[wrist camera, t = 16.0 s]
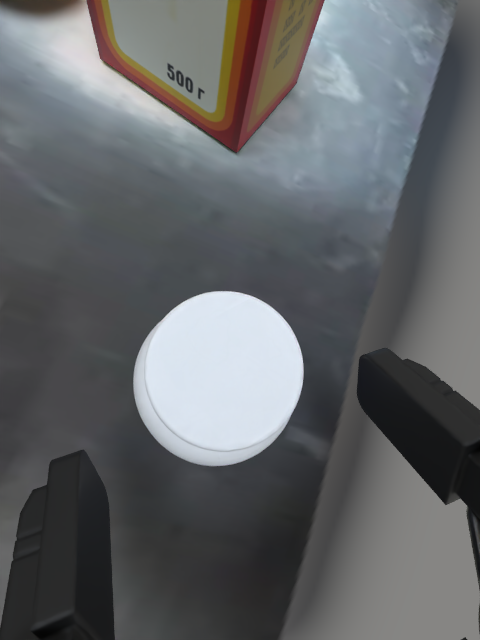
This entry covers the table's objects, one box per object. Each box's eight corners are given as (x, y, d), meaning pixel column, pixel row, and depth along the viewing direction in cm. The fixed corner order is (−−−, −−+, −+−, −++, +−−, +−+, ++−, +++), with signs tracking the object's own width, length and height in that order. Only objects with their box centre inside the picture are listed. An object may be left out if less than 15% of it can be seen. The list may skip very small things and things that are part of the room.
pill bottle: (281, 373, 18) (365, 337, 10) (225, 471, 17) (268, 531, 8) (190, 315, 18) (194, 230, 10) (126, 409, 17) (66, 404, 8)
